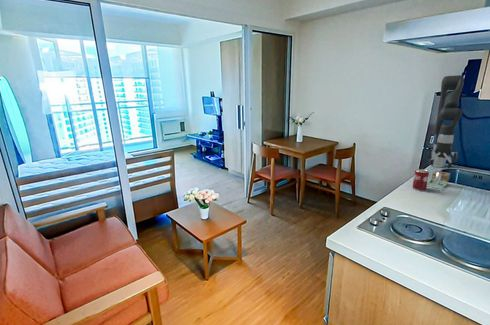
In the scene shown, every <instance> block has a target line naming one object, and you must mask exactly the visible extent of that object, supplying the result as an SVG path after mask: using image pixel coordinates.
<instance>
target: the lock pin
mask: <svg viewBox="0 0 490 325" xmlns="http://www.w3.org/2000/svg"><path fill="white" fill-rule="evenodd" d="M436 171H437V173H436V178H435V182H434V183H433V184H438V185H441V183H440V179H441V174H442V172H443V171H441V170H440V171H439V170H436Z"/></svg>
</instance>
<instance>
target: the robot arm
mask: <svg viewBox="0 0 490 325" xmlns="http://www.w3.org/2000/svg"><path fill="white" fill-rule="evenodd" d="M464 80H465V79H464V76H463V75H461V74H460V75H458V74H457V75H446V76H444V77H443V78H442V80H441V84H440V85H441V87H440V97H439V102H438V106H437V114H436V115H437V116H436V121H435V125H434V130H433V133H434V135H435V136H438V137H437V139H435V140H434V143H433V148H430V149H429V151H428V155H427V159H429V160H430V166H431V167H435V168H446V162H447V161H448V163H447V169H451V167H452V165H453V163H456V162H457V159H458V151H454V152H453V151H452V148H453V143H454V137H455V136H454V134H455V130H456V128H457V125H458V122H459V121H460V119H461V118H462V116H463V111H462V109H461V108H459V105H460V103H459V102H460V98H461V97H460V96H461V94H462V91H463V86H464V82H465V81H464ZM448 91H451V92H450V93H449V92H448ZM444 121H451V122H449V123H443V122H444ZM451 155H452V156H453V159H452V157H451Z"/></svg>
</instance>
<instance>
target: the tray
mask: <svg viewBox="0 0 490 325" xmlns="http://www.w3.org/2000/svg"><path fill="white" fill-rule="evenodd" d="M433 182H434V183H435V179H431V178H430V179H428V182H427V188H429V187H430V188H433V189H435V188H436V189H438V190H442V191H443V190H444V188H445V187H447V185H448V183H449V181H448V182H446V181H441V180H440V184H439V185H438V184H434V183H433ZM441 184H443V185H441Z"/></svg>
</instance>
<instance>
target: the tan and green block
mask: <svg viewBox="0 0 490 325" xmlns="http://www.w3.org/2000/svg"><path fill="white" fill-rule="evenodd" d="M437 171H438V170H434V172H432V175H431V177H430V179H435V178H436V173H437ZM441 172H442V174H441V179H440V180H441V181H446V182H448V183H449V181H450V180H451V178H450V177H451V172H446V171H441Z"/></svg>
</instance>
